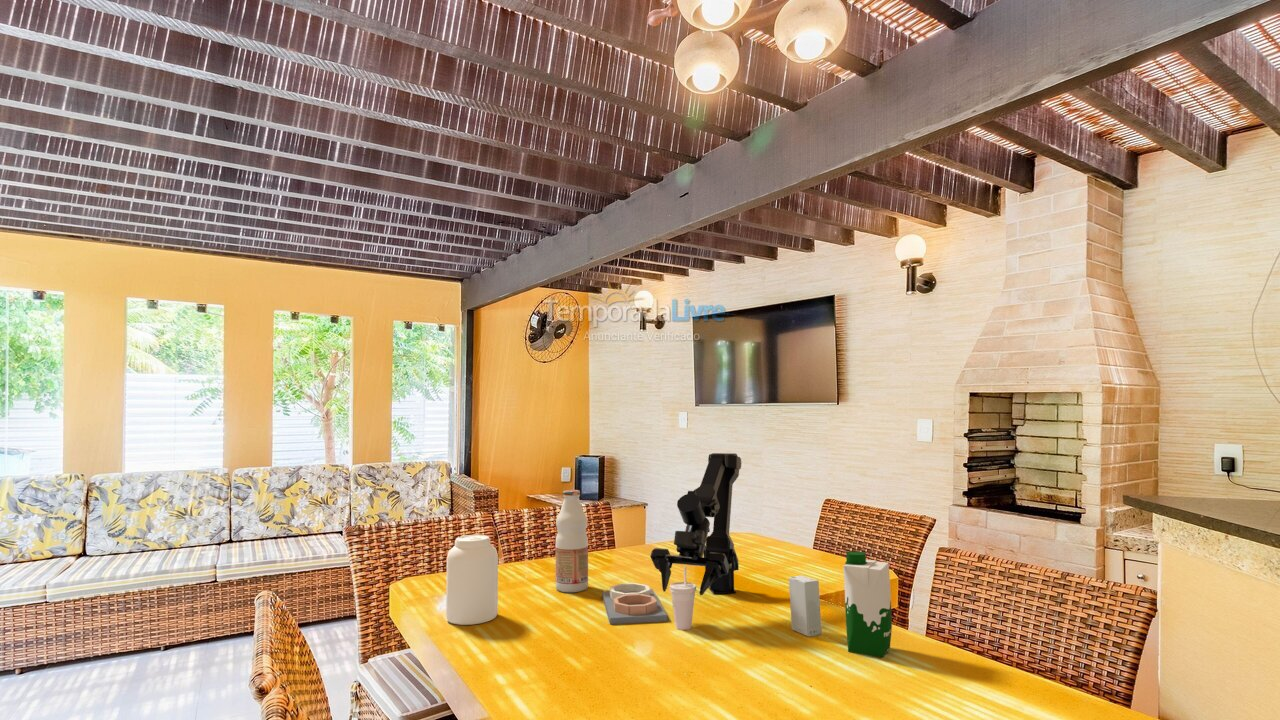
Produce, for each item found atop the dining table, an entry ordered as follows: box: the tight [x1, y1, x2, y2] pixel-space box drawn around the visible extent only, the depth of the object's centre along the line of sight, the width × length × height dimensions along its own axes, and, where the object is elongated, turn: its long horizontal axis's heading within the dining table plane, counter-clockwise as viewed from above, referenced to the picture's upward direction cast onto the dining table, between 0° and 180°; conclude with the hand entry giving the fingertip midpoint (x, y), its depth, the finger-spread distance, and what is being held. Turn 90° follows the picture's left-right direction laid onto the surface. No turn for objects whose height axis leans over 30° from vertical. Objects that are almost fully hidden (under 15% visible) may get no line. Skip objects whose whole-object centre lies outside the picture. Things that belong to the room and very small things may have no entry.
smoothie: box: [668, 566, 697, 631], centre depth 158 cm, size 6×6×14 cm
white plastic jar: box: [445, 534, 499, 626], centre depth 167 cm, size 12×12×20 cm
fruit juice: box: [555, 489, 589, 593], centre depth 193 cm, size 9×9×28 cm
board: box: [601, 582, 668, 625], centre depth 173 cm, size 14×24×4 cm, turn 8°
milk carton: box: [842, 550, 893, 659], centre depth 142 cm, size 9×9×20 cm
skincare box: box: [788, 575, 823, 637], centre depth 153 cm, size 6×4×12 cm
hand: (682, 592), depth 157 cm, fingers open, 9 cm apart
